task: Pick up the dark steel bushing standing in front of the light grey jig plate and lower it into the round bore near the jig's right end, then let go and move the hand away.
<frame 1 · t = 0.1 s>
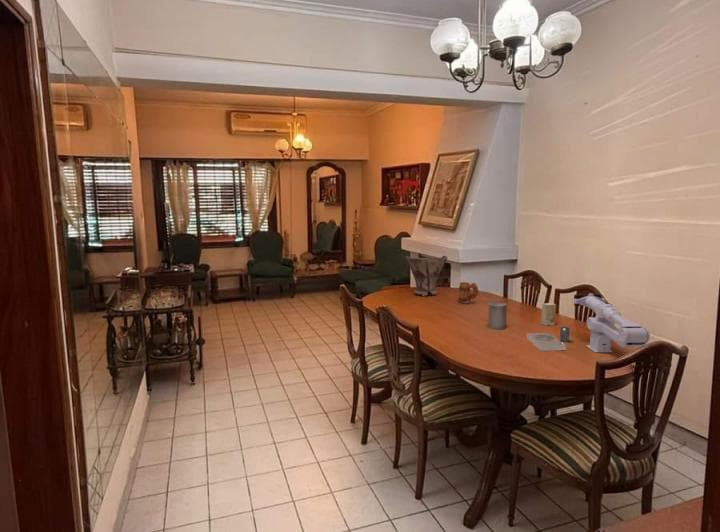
hand: (582, 296, 233), 22 cm above the table, tool horizontal, fingers open, 7 cm apart
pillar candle: (497, 327, 256), on the table
mug: (467, 303, 313), on the table
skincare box: (548, 324, 259), on the table
bushing: (564, 341, 230), on the table
jig: (545, 343, 226), on the table
vessel: (426, 294, 343), on the table
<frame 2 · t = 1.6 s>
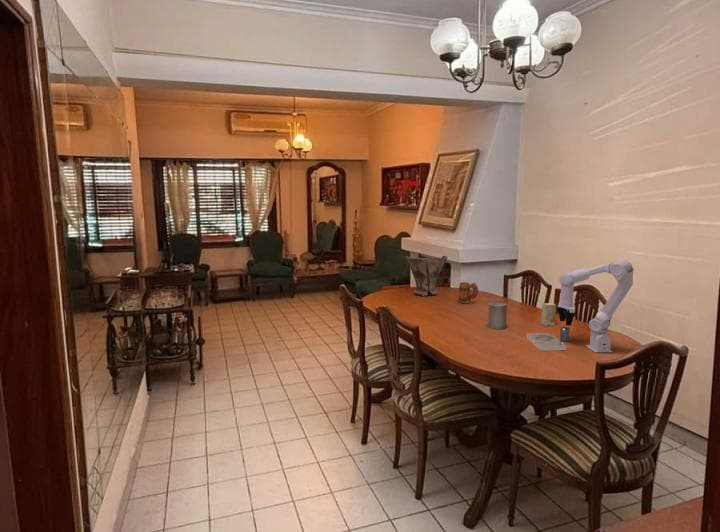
hand: (565, 323, 228), 9 cm above the table, tool pointing down, fingers open, 7 cm apart
nothing on the table moved.
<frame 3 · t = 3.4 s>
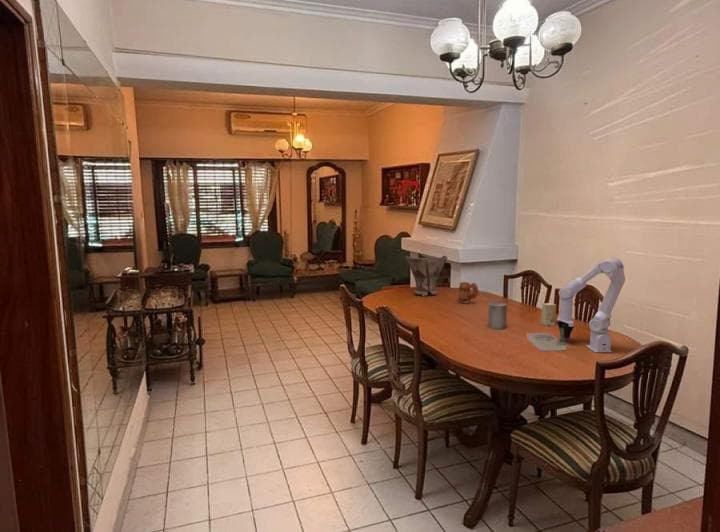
hand: (564, 336, 229), 2 cm above the table, tool pointing down, fingers closed on bushing, 4 cm apart
bushing: (564, 341, 230), on the table, touching gripper
everything else where it was.
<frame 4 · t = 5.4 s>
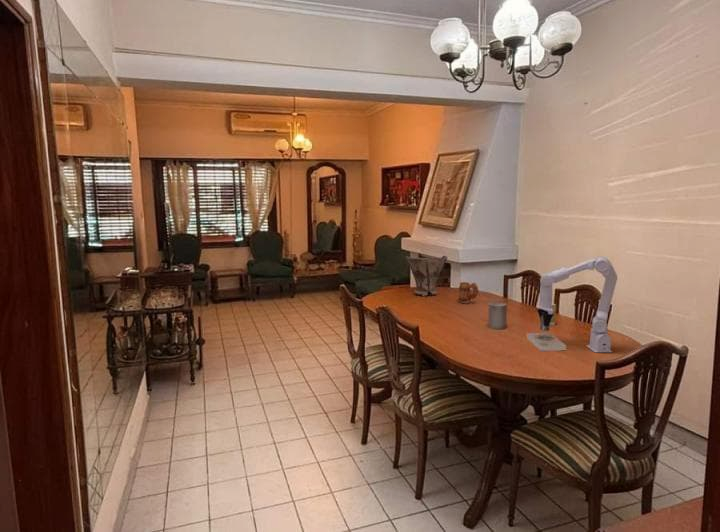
hand: (544, 324, 227), 9 cm above the table, tool pointing down, fingers closed on bushing, 4 cm apart
bushing: (544, 329, 227), point 7 cm above the table, touching gripper
everything else where it was.
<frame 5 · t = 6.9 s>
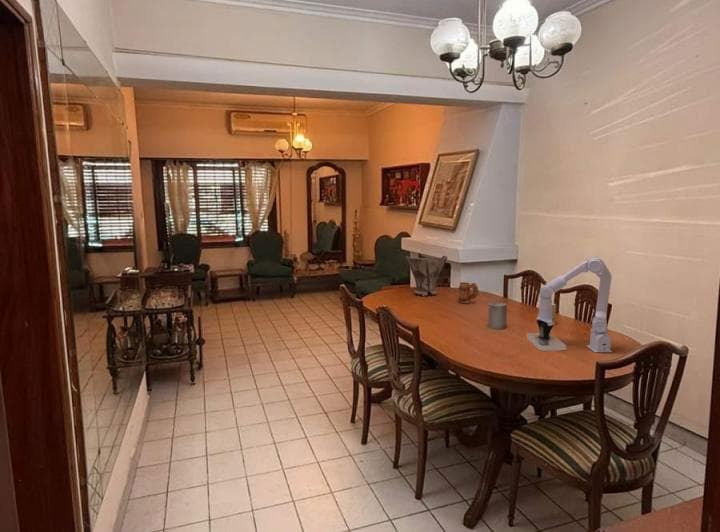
hand: (544, 335, 227), 4 cm above the table, tool pointing down, fingers closed on bushing, 4 cm apart
bushing: (544, 340, 228), point 1 cm above the table, touching gripper
everything else where it was.
when the fingers open (4 cm above the table, at t = 7.8 s): bushing drops 1 cm, resting in jig.
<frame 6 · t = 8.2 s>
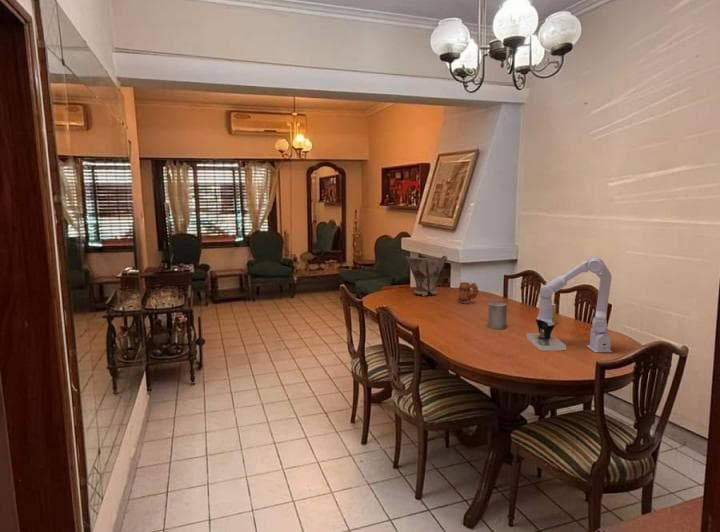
hand: (544, 335, 227), 4 cm above the table, tool pointing down, fingers open, 7 cm apart
bushing: (544, 342, 228), resting in jig
everything else where it was.
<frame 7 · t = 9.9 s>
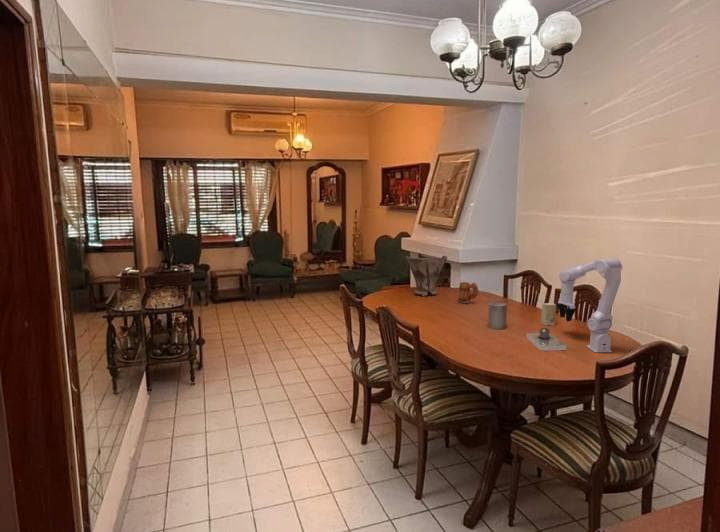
hand: (565, 319, 235), 9 cm above the table, tool pointing down, fingers open, 7 cm apart
nothing on the table moved.
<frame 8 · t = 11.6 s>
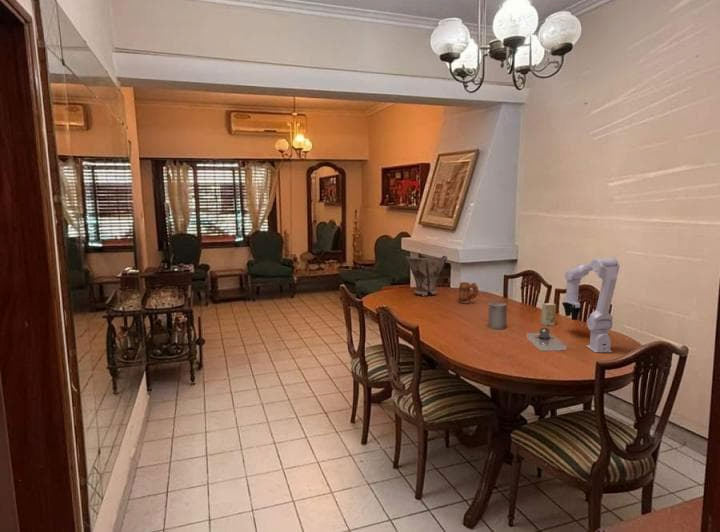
hand: (571, 317, 238), 9 cm above the table, tool pointing down, fingers open, 7 cm apart
nothing on the table moved.
at the end: bushing 0.1 cm from the target spot on the jig, point 0.0 cm above the jig's base; bushing tilted 0°; the gripper is holding nothing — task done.
